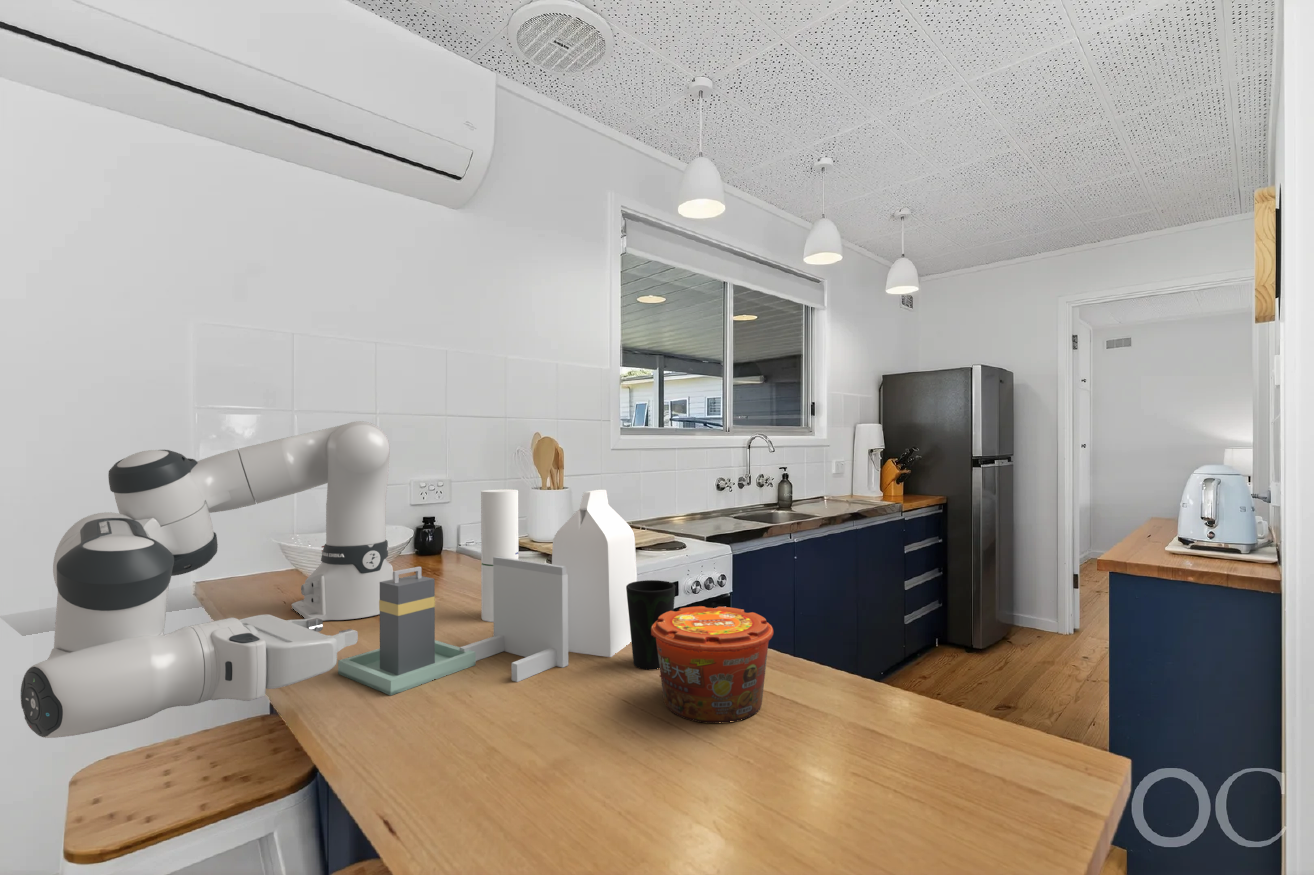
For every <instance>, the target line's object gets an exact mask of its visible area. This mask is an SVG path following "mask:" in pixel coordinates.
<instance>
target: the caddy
mask: <svg viewBox="0 0 1314 875" xmlns="http://www.w3.org/2000/svg"><path fill="white" fill-rule="evenodd" d="M414 572H415V574H413V575H407V576H404V577H400V576H399V575H403V574H409V573H414ZM422 573H423V572H422V566H416V567H410V568H404V569H398V570H393V579H392V580H387V581H382V582H380V600H379V611H380V614H379V649H380V669H382V670H384V671H387V672H390V673H392V674H395V675H401V674H404V673H407V672H410V671H413V670H416V669H419V668H422V667H425V666H428V665H431V664H434V663H435V640H436V637H435V636H436V634H435V633H436V629H435V627H436V626H435V624H436V623H435V622H436V621H435V620H436V616H435V614H436V613H435V612H436V596H435V595H436V594H435V587H436V586H435V584H436V583H435V578H433V577H427V576H423V575H422Z"/></svg>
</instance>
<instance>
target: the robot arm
mask: <svg viewBox="0 0 1314 875" xmlns="http://www.w3.org/2000/svg"><path fill="white" fill-rule="evenodd" d="M390 449H391V446H390V440H389V438H388V435H387V434H386V433H385V431H384V430H383V429H382V428H380V427H379V426H378V425H376V424H373V423H371V422H368V421H363V420H362V421H360V420H355V421H351V422H347V423H345V424H341V425H336V426H332V427H328V428H324V429H318V430H315V431H311V432H306V433H302V434H297V435H292V436H288V437H284V438H280V439H279V438H278V439H275V440H270V441H265V442H261V443H256V444H251V445H249V446H244V447H239V448H235V449H232V450H228V451H225V452H220V453H218V454H214V455H211V456H209V457H208V456H207V457H205V458H203V459H202V458H201V459H200V460H196V459H194V458H188V457H186V456H185V455H183V454H182V453H180V452H176V451H173V450H170V449H150V450H142V451H139V452H135V453H133V454H131V455H128V456H127V457H124V458H123V459H120V460H118V461H117V462H115V463H114V464H113V465H112V467H110V469H109V470H108V473H107V474H108V485H109V490H110V492H112V493H113V495H114V499H115V500H114V501H115V503H116V506H117V510H118V513H117V512H111V511H110V512H106V511H105V512H98V513H93V514H90V515H88V516H85V517H83V518H81V519H78V520H77V521H76V522H75V523H74V524H73V525H72V526H70V527H69V528H68V530H66V532H65V533H64V534H63V536H62V538H61V540H60V541H59V542H58V544H57V548H56V550H55V553H54V557H53V563H52V574H53V581H54V584H55V587H56V589H57V600H56V612H55V613H56V614H55V625H54V636H53V637H54V638H53V640H54V641H53V648H52V649H51V651H50V654H49V656H48V658H47V659H45V660H42V661H40V662H37V663H35V664H33V665H31V666H30V667H29V668H28V669H27V670H26V672H25V673H24V676H23V678H22V680H21V686H20V705H21V709H22V712H23V715H24V720H25V723H26V725H27V726H28V728H29V729H30V730H31V731H32V732H34V733H35V734H36V735H37V736H39V737H40V738H45V739H53V738H55V739H57V738H65V737H73V736H79V735H80V736H81V735H84V734H90V733H93V732H94V733H95V732H99V731H102V730H109V729H112V728H116V727H119V726H120V727H121V726H124V725H127V724H132V723H135V722H138V721H142V720H145V719H148V718H151V717H153V716H154V715H155V714H158V713H159V712H163V711H165V710H166V709H171V708H174V707H175V708H176V707H188V706H189V707H190V706H193V705H197V704H201V703H204V702H208V701H219V700H237V701H242V702H250V701H253V700H257V699H260V698H262V697H265V695H266V689H267V690H273V689H279V688H284V687H288V686H291V685H294V684H296V683H300V682H303V681H306V680H308V679H311V678H314V677H317V676H320V675H322V674H325V673H328V672H329V671H331V670H332V669H333V668H334V667H336V665H337V664H338V652H340V651H342V649H344V648H346V647H349V646H354V645H356V644H357V642H358V640H359V639H358V638H359V636H358V635H359V632H358V631H357V630H354V629H351V628H348V629H344V630H339V631H338V633H336V634H333V635H326V634H324V633H322V632H321V631H322V630H323V627H324V626H323V623H324V621H344V620H346V621H347V620H354V619H361V618H362V619H363V618H368V617H374V616H377V615H380V611H379V600H380V582H382V581H387V580H392V579H393V571H394V570H393V565H392V564H391V563H390V562H389V561H388V560H387V558H388V557H389V543H388V542H389V540H387V539H386V538H387V537H386V532H387V531H386V526H387V525H386V512H387V511H386V504H387V503H386V500H387V492H388V481H389V471H390ZM326 484H327V485H326ZM323 485H326V486H327V490H326V503H325V504H326V505H325V509H326V510H325V515H326V516H325V518H326V519H325V523H326V524H325V532H326V534H325V540H326V541H325V542H326V543H325V544H324V545H322V546H321V548H322V549H321V557H320V561H321V562H320V564H319V565H318V566H317V567H316V568H315V570H313V572H312V573H311V574H309V576H308V577H307V578H306V579H305V581H304V583H303V584H301V586H300V591H301V593H300V594H301V595H302V596H303V597H304V598H303V599H301V600H297V601H295V602H292V603H291V606H292V608H293V609H294V610H295V611H297V612H298V613H299V614H300V615H299V614H298V613H297V612H296V613H297V614H298V615H299V616H301V615H302V616H303V617H304V618H303V617H302V616H301V617H302V618H303V619H301V618H300V619H288V620H285V619H283V618H280V617H277V616H274V615H272V614H258V615H253V616H248V617H245V618H239V619H238V618H236V617H227V618H223V619H217V620H214V621H213V620H211V621H209V622H204V623H199V624H194V625H193V624H192V625H188V626H184V627H180V628H178V629H175V630H174V631H172V632H169V633H165V627H166V617H167V607H168V597H169V587H170V583H171V579H172V577H175V576H179V575H181V576H182V575H185V574H188V573H190V572H193V571H196V570H198V569H200V568H202V567H203V566H205V565H207V564H208V563H209V562H210V561H212V559H213V558H214V557H215V555H217V553H218V548H219V547H218V545H219V544H218V536H217V532H215V531H214V527H213V523H212V518H211V513H220V512H226V511H233V510H238V509H241V508H246V507H251V506H254V505H256V504H257V505H258V504H261V503H266V502H269V501H272V500H275V499H279V498H283V497H286V496H290V495H294V494H298V493H301V492H305V491H307V490H311V489H313V488H316V487H319V486H323ZM292 608H291V609H292ZM293 609H292V610H293ZM294 610H293V611H294ZM295 611H294V612H295Z"/></svg>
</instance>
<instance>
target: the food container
mask: <svg viewBox="0 0 1314 875" xmlns="http://www.w3.org/2000/svg"><path fill="white" fill-rule="evenodd" d="M651 635H652V636H653V637H656V643H657V651H658V658H659V666H660V669H659V671H660V672H659V673H660V681H661V687H662V688H661V690H662V698H663V703H664V705H665V706H666V708H667V709H668V710H669V711H670V712H672V713H673V714H675V715H676V716H679V717H681V718H683V717H684V718H683V719H686V720H688V719H689V721H692V720H693V722H697V721H699V722H698V723H703V722H707V724H723V723H722V722H729V723H730V721H736V722H738V721H737V720H741V719H744V718H746V719H748V718H750V717H752V716H754V715H755V714H757V713H758V712H759V711H760V710H761V708H762V705H763V697H764V686H765V677H766V671H767V670H766V668H767V658H768V652H769V651H768V649H769V642H770V640H771V639H772V638H773V636H774V627H773V625H772V624H770V623H769V622H767V619H766V618H765V617H764V616H762V615H760V614H758V613H756V612H753V611H752V612H745V609H741V608H736V607H727V606H717V607H714V608H713V607H706V606H702V605H699V606H689V607H680V608H679V609H678V610H677V611H669V612H666V613H664V614H662V615H661V616H659V618H658V620H657V621H656V622H655V623H654V624H653V625H652V627H651ZM758 710H759V711H758ZM756 712H757V713H756ZM753 714H754V715H753ZM751 715H752V716H751ZM747 717H748V718H747ZM744 720H745V719H744ZM741 721H742V720H741ZM719 722H721V723H719Z"/></svg>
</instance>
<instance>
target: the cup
mask: <svg viewBox="0 0 1314 875" xmlns="http://www.w3.org/2000/svg"><path fill="white" fill-rule="evenodd" d="M626 591H627V601H628V612H629V622H630V632H631V651H632V661H633V663H632V664H633V665H634V667H636V668H638V669H641V670H646V669H647V670H648V671H650V670H649V669H656V670H658V669H657V668H660V666H659V658H658V651H657V643H656V637H653V636H652V635H651V627H652V625H653V624H654V623H655V622H656V621H657V620H658V618H659V616H661V615H662V614H664V613H666V612H669V611H674V610H675V608H674V607H675V599H676V598H675V597H676V585H675V583H673V582H670V581H667V580H658V579H654V580H653V579H649V580H648V579H646V580H637V581H636V582H632V583H629V584H628V585H627V586H626ZM674 612H675V611H674Z"/></svg>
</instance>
